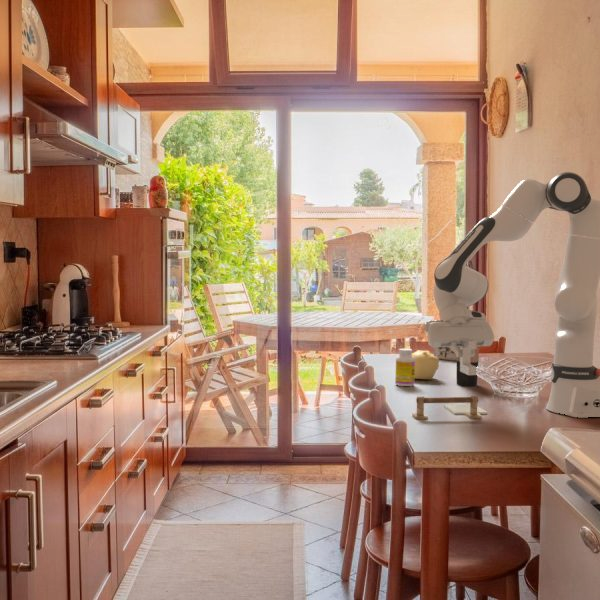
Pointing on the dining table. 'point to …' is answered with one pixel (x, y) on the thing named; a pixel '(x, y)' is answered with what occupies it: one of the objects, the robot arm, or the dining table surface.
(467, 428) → the dining table surface
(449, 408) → the tile
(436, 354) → the decorative jar
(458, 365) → the travel mug
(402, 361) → the supplement bottle
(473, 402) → the rail stand
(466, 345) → the c link
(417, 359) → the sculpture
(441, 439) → the dining table surface
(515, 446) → the dining table surface
